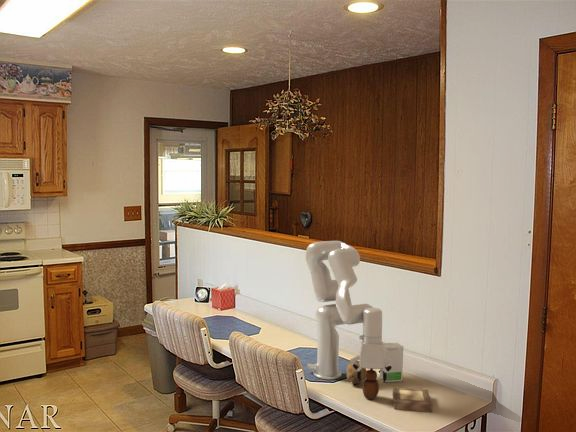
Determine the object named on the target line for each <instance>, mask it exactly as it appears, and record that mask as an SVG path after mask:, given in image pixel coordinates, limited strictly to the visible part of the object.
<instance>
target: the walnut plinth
mask: <svg viewBox="0 0 576 432" xmlns="http://www.w3.org/2000/svg"><path fill="white" fill-rule="evenodd" d="M392 401H393V403H392V404H393V409H394V410H402V411H403V410H404V411H417V412H429V413H432V408H433V404H432V400H431V397H430V393H429V389H420V388H419V389H418V388H406V387H392Z"/></svg>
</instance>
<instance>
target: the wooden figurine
mask: <svg viewBox="0 0 576 432" xmlns="http://www.w3.org/2000/svg"><path fill="white" fill-rule="evenodd" d="M366 370H367V371H366V374H365V379H364V380H363V384H362V393H363V396H364V398H365V399H366V400H374V399H376V398H377V397H378V394H379V391H380V384H379V381H378V380H377V378H378V373H377V371H376V370H375V369H366Z"/></svg>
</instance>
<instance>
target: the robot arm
mask: <svg viewBox="0 0 576 432" xmlns="http://www.w3.org/2000/svg"><path fill="white" fill-rule="evenodd" d="M305 261H306V265H307V267H308V269H309V271H310V272H309V273H310V275H311V282H312V285H313V292H314V296H315V298H316V301H318V302H319V303H329V302H335V303H332V304H325V305H321V306H320V307H319V308H317V310H316V312H315V319H316V320H315V321H316V328H317V350H316V351H317V353H316V354H317V355H316V357H317V358H316V363H314V364H313V363H307V366H306V369H309V370H310V371H313V376H314V377H316V378H318V379H321V380H336V379H339V378H341V377H342V373H343V372H342V371H341V370H340V369H339V355H340V352H339V351H340V336H339V332H338V331H337V329H336V327H338V326H342V325H348V326H351V325H357V324H363V325H362V335H359V340H361V342H360V346H359V355H357V356H355V357H353V358H350V362H351V363H352V365H353V367H354V368H355V369H356V370H357V379H359V383H360V382H362V381H361V369H362V368H366V370H370V369H373V370H380V369H382V370H383V380H382V383H384V384H386V382H385V380H387V373H388V371H389V370H390V369H391V368H392V366H393V365H394V361H392V360H390V359H389V358H387V357H385V348H384V342H383V311H382V310H381V309H380V308H378V307H374V306H372V305H370V304H368V303H360V304H352V299H351V295H350V290H349V289H350V288H351V287H353V286H355V285H356V283H357V282H358V277H357V275H356V273H355V271H354V270H355V269H354V268H353V267H357V266H358V265H359V264H360V262H361V256H360V253H359V251H358V250H357V249H356V248H355V247H353V246H351V245H350V244H347V243H345V242H343V241H341V240H325V241H324V240H323V241H322V240H321V241H316V242H312V243H310V244H309V245H307V248H306V250H305ZM324 261H328V263H329V265H330V268H331V271H332V273H333V277H334V278H335V279H332V276H331V271H330V269H329V268H328V266H327V265H326V264H325V263H324ZM355 361H359V365H358V366H357V365H356V364H355ZM385 361H386V362H388V363H390V364H389V366H388V367H385Z"/></svg>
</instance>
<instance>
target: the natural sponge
mask: <svg viewBox="0 0 576 432" xmlns="http://www.w3.org/2000/svg"><path fill="white" fill-rule="evenodd" d="M355 364H356V365H357V366H358V365H359V360H357V361H355ZM345 369H346V370H345V371H346V379H347V381H348V382H350V383H352V384H354V385H357V384H359V383H360V382H362V381H365V380H366V378H365V374H366V371H367V370H368V369H367V368H362V369H361V381H360V382H359V379H357V370H356V369H355V368H354V367H353V365H352V363H351V361H350V362H348V363H347V364H346V368H345Z"/></svg>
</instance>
